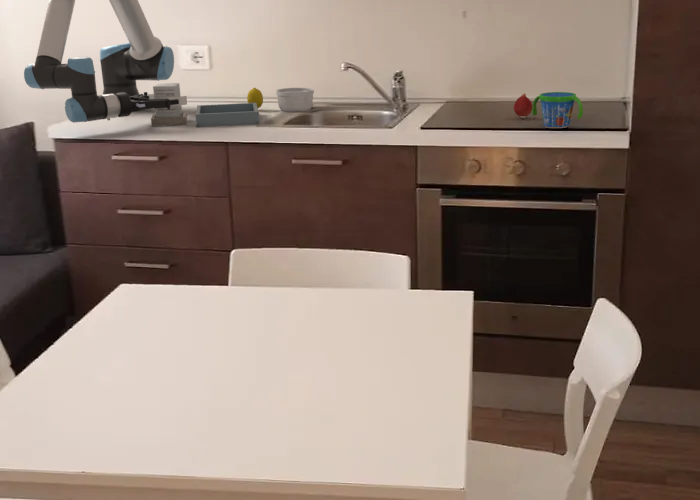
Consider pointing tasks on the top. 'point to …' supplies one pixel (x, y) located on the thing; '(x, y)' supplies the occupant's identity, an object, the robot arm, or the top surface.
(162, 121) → the collar
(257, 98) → the lemon
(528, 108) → the onion
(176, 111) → the supplement box
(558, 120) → the snack cup
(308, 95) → the ramekin
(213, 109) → the tray
